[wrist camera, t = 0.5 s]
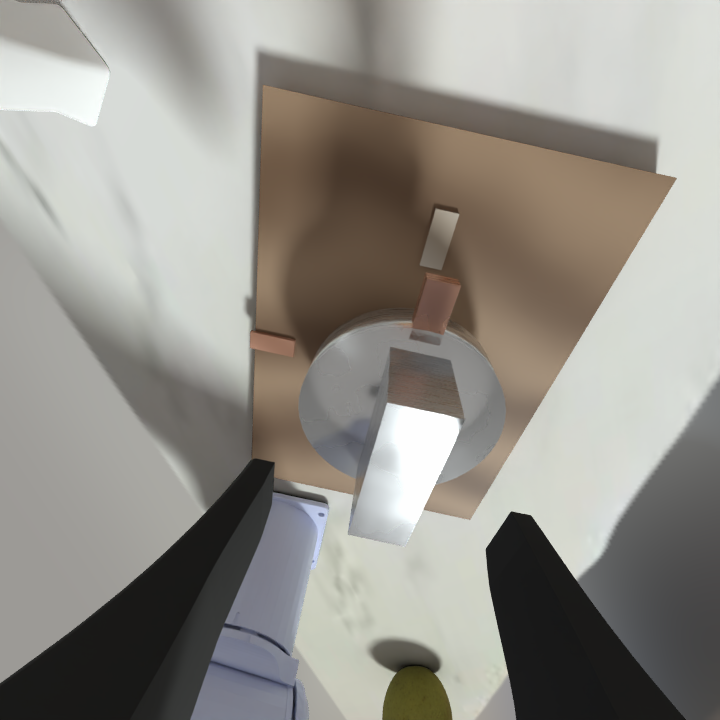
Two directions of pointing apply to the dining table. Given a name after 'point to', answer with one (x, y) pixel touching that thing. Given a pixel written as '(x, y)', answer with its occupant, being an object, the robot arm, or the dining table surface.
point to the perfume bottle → (48, 63)
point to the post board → (427, 257)
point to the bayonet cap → (401, 407)
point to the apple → (416, 696)
